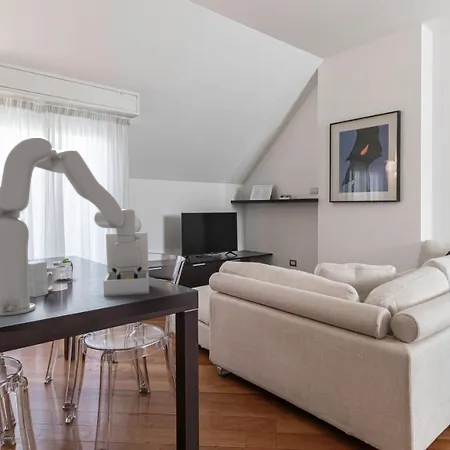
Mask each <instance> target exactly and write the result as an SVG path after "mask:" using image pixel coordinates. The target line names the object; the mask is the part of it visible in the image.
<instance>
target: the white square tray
mask: <svg viewBox="0 0 450 450" xmlns="http://www.w3.org/2000/svg"><path fill="white" fill-rule="evenodd" d="M120 274H121V280H117V275H116V274H115V273H108V272H107V274H106V276H105V278H104V279H103V296H104V297H113V296H115V297H117V296H131V295H132V296H133V295H134V294H135V295H149V294H150V280H149V279H150V278H149V270H148V271H146V272H139V273H138V279H134V272H126V273H120ZM127 276H130V277H132V279H124V278H125V277H127ZM135 295H134V296H135Z"/></svg>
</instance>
